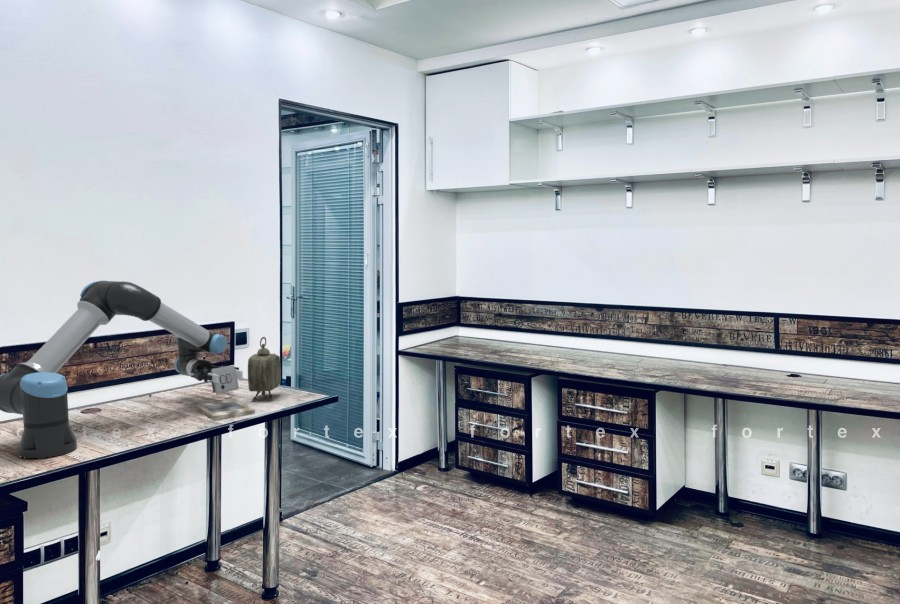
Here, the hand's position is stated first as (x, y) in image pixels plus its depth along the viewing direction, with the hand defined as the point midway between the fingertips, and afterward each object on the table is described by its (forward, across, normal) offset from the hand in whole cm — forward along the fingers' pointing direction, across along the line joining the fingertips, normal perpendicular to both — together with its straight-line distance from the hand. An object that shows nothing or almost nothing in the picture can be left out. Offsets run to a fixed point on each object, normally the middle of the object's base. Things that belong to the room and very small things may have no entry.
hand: (229, 376), depth 239 cm
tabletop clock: (-11, -21, -14) cm, 28 cm away
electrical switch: (-4, 0, -6) cm, 8 cm away
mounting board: (-4, 0, -14) cm, 14 cm away
